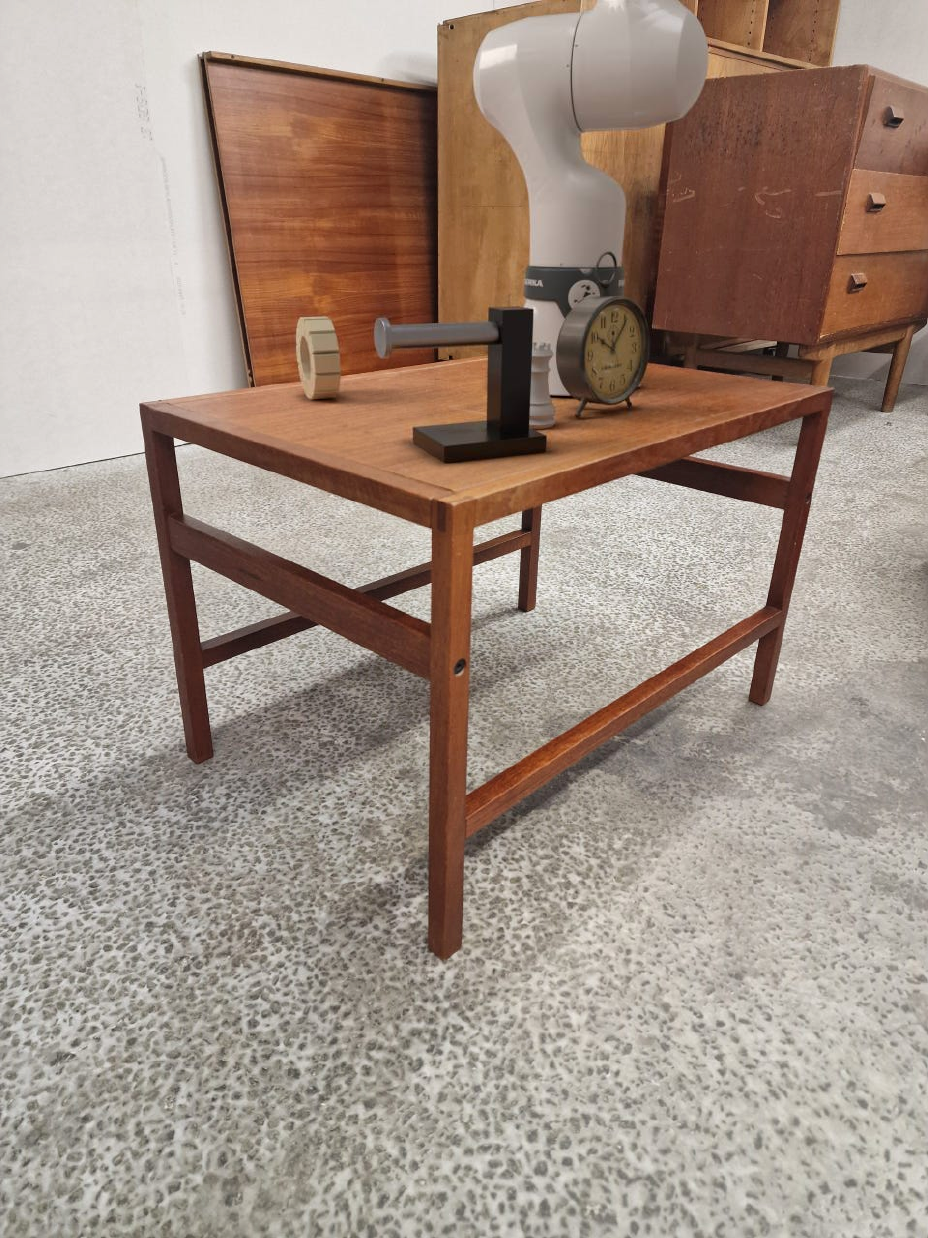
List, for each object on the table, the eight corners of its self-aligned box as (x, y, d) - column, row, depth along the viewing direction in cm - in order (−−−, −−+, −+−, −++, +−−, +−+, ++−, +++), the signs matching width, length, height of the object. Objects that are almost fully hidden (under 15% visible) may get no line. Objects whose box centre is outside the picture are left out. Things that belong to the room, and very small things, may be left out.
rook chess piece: (553, 420, 85) (557, 340, 81) (559, 429, 81) (563, 346, 77) (511, 420, 85) (513, 340, 81) (514, 429, 81) (517, 346, 77)
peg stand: (507, 433, 79) (510, 303, 74) (546, 452, 73) (553, 311, 67) (371, 446, 74) (364, 308, 69) (399, 468, 68) (394, 317, 62)
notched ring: (299, 391, 99) (293, 314, 95) (323, 390, 100) (317, 313, 96) (317, 405, 92) (311, 321, 88) (343, 403, 93) (337, 320, 89)
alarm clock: (580, 422, 84) (591, 252, 77) (543, 414, 88) (551, 251, 81) (647, 409, 90) (663, 250, 83) (610, 402, 94) (622, 249, 87)
